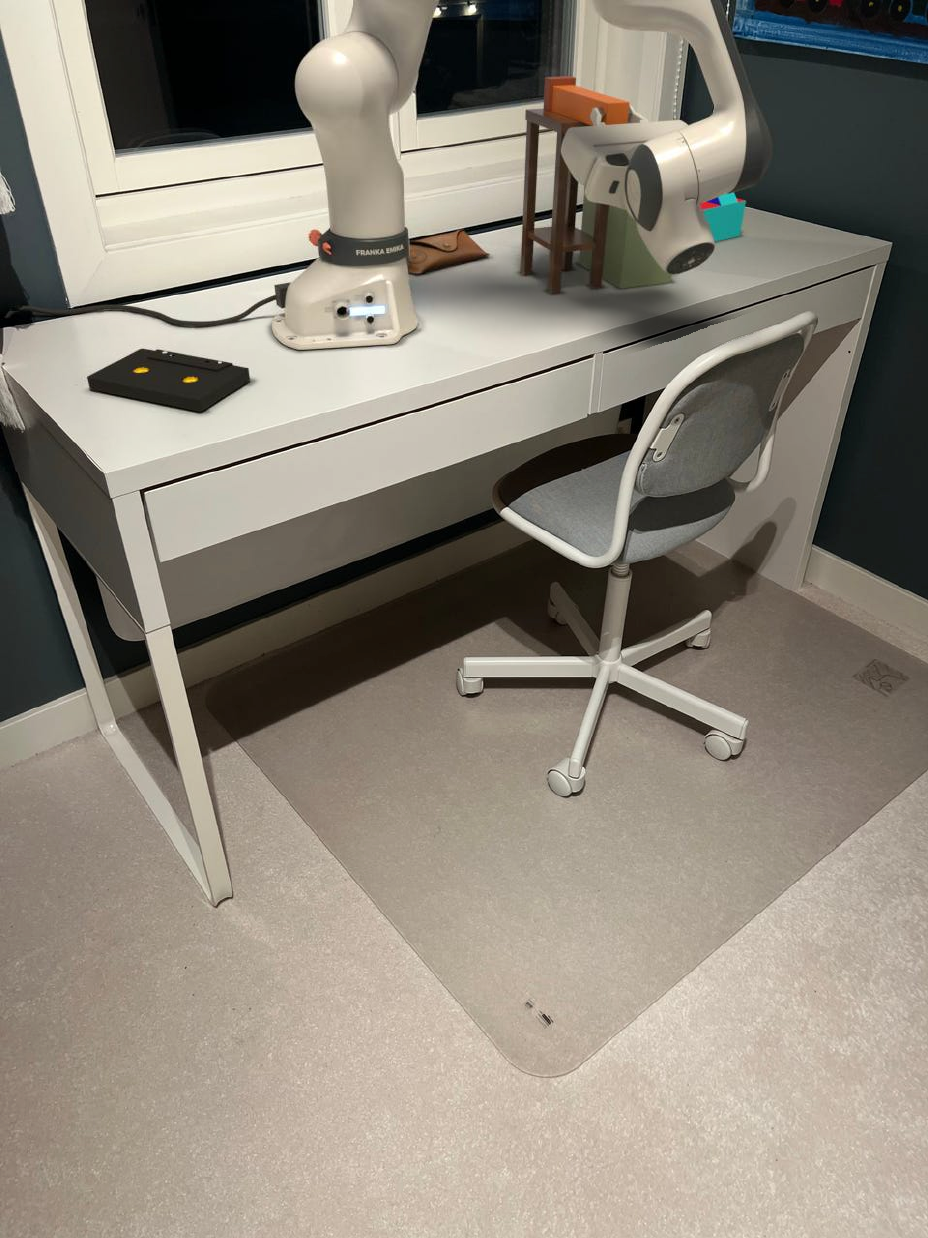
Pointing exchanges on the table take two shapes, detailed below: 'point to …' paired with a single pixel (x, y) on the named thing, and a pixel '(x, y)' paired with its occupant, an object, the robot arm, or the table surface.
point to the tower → (582, 101)
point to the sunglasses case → (443, 252)
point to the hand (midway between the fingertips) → (610, 110)
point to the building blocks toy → (724, 216)
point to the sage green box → (621, 250)
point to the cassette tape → (170, 378)
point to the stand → (558, 208)
